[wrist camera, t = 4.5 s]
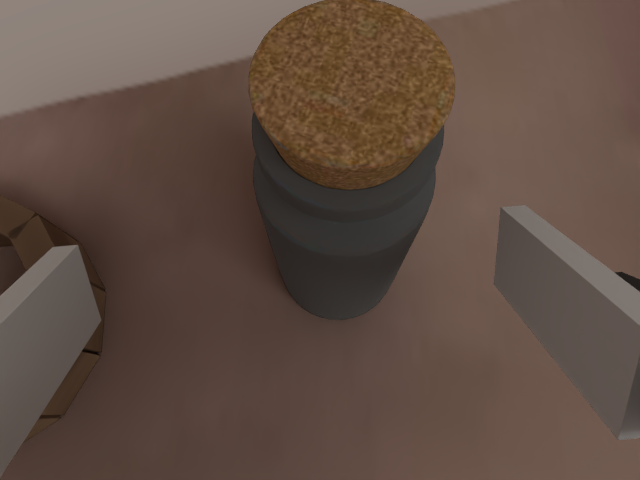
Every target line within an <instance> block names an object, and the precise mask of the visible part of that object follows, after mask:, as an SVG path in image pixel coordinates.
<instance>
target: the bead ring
mask: <svg viewBox="0 0 640 480" xmlns="http://www.w3.org/2000/svg"><path fill="white" fill-rule="evenodd" d="M70 245H78V246H79V250H80V253H81V256H82V259H83V262H84V266H85V269H86V272H87V275H88V279H89V282H90V285H91V288H92V291H93V295H94V298H95V301H96V304H97V308H98V311H99V314H100V317H101V322H100V323H99V325H98V327H97V328H96V330H95V331H94V333H93V334H92V336H91V337H90V339H89V341H88V342H87V344H86V345H85V347H84V348H83V350H82V351H81V353H80V355H79V356H78V358H77V359H76V361H75V362H74V364H73V366H72V367H71V369H70V370H69V372H68V373H67V375H66V376H65V378H64V380H63V381H62V383H61V384H60V386H59V387H58V389H57V390H56V392H55V394H54V395H53V397H52V398H51V400H50V401H49V403H48V404H47V406H46V408H45V409H44V411H43V412H42V414H41V415H40V417H39V419H38V420H37V422H36V423H35V425H34V426H33V428H32V429H31V431H30V433H29V434H28V436H27V437H26V439H25V440H24V442H25V441H27V440H28V439H30V438H31V437H33V436H34V435H36V434H37V433H39V432H40V431H42V430H43V429H45V428H46V427H48V426H49V425H51V424H53V423H54V422H56V421H57V420H59V419H60V416H59V415H64V414H65V412H66V411H67V409H68V407H69V406H70V404H71V403H72V401H73V399H74V398H75V396H76V394H77V393H78V391H79V390H80V388H81V386H82V385H83V383H84V381H85V380H86V378H87V377H88V375H89V373H90V372H91V370H92V369H93V367H94V365H95V364H96V362H97V360H98V359H99V357H100V356H99V355H97V354H95V353H94V352H102V340H103V327H104V313H105V300H106V292H104V291H103V290H104V289H105V287H104V286H103V284H102V282H101V280H100V278H99V276H98V275H97V273H96V271H95V269H94V267H93V265H92V263H91V262H90V260H89V258H88V256H87V254H86V252H85V251H84V249H83V247H82V245H81V244H80V243H79V242H78V241H77V240H75V239H74V238H72V237H71V236H69V235H68V234H67V233H65V232H64V231H62V230H61V229H59V228H58V227H56V226H55V225H53V224H52V223H50V222H49V221H47V220H46V219H44V218H43V217H42V216H40V215H39V214H37V213H36V212H34V211H32V210H30V209H28V208H26V207H23V206H21V205H19V204H17V203H15V202H13V201H11V200H9V199H7V198H5V197H3V196H1V195H0V247H2V246H14V248H15V250H16V252H17V254H18V256H19V258H20V260H21V262H22V264H23V266H24V268H25V270H26V271H28V270H29V269H30V268H31V267H32V266H33V265H34V264H35V263H36V262H37V261H38V260H39V259H40V258H42V257H43V256H44V255H45V254H46V253H47V252H48V251H49V250H50V249H51V248H52V247H59V246H70Z"/></svg>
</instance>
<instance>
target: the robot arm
mask: <svg viewBox="0 0 640 480" xmlns="http://www.w3.org/2000/svg"><path fill="white" fill-rule="evenodd" d="M494 285H495V286H496V287H497V289H498V290H499V291H500V292H501V294H502V295H503V296H504V297H505V299H506V300H507V301H508V302H509V304H510V305H511V306H512V307H513V309H514V310H515V311H516V312H517V314H518V315H519V316H520V317H521V319H522V320H523V321H524V323H525V324H526V325H527V326H528V328H529V329H530V330H531V331H532V333H533V334H534V335H535V336H536V338H537V339H538V340H539V341H540V343H541V344H542V345H543V346H544V348H545V349H546V350H547V351H548V353H549V354H550V355H551V356H552V358H553V359H554V360H555V361H556V363H557V364H558V365H559V366H560V368H561V369H562V370H563V371H564V373H565V374H566V375H567V376H568V378H569V379H570V380H571V382H572V383H573V384H574V385H575V387H576V388H577V389H578V390H579V392H580V393H581V394H582V395H583V397H584V398H585V399H586V400H587V402H588V403H589V404H590V405H591V407H592V408H593V409H594V410H595V412H596V413H597V414H598V415H599V417H600V418H601V419H602V420H603V422H604V423H605V424H606V425H607V427H608V428H609V429H610V430H611V432H612V433H613V434H614V435H615V437H616V438H617V439H618V440H623V439H633V438H640V279H637V278H635V277H632V276H630V275H628V274H625V273H623V272H616V273H614V272H613V271H612V270H610V269H609V268H608V267H606V266H605V265H604V264H602V263H601V262H600V261H598V260H597V259H596V258H594V257H593V256H592V255H590V254H589V253H588V252H586V251H585V250H584V249H582V248H581V247H580V246H578V245H577V244H576V243H574V242H573V241H572V240H570V239H569V238H568V237H566V236H565V235H564V234H562V233H561V232H560V231H558V230H557V229H556V228H555V227H553V226H552V225H551V224H549V223H548V222H547V221H545V220H544V219H543V218H541V217H540V216H539V215H537V214H536V213H535V212H533V211H532V210H531V209H529V208H528V207H527V206H525V205H521V206H509V207H501V210H500V221H499V232H498V243H497V254H496V265H495V276H494ZM100 322H101V317H100V314H99V311H98V308H97V304H96V301H95V298H94V295H93V291H92V288H91V285H90V282H89V279H88V275H87V272H86V269H85V266H84V262H83V259H82V256H81V253H80V250H79V246H78V245H70V246H59V247H52V248H51V249H50V250H49V251H48V252H47V253H46V254H45V255H44V256H43V257H42V258H40V259H39V260H38V261H37V262H36V263H35V264H34V265H33V266H32V267H31V268H30V269H29V270H28V271H26V272H25V273H24V274H23V275H22V276H21V277H20V278H19V279H18V280H17V281H16V282H15V283H13V284H12V285H11V286H10V287H9V288H8V289H7V290H6V291H5V292H4V293H3V294H2V295H1V296H0V478H1V476H2V475H3V473H4V471H5V470H6V468H7V467H8V465H9V464H10V462H11V461H12V459H13V457H14V456H15V454H16V453H17V451H18V450H19V448H20V447H21V445H22V443H23V442H24V440H25V439H26V437H27V436H28V434H29V433H30V431H31V429H32V428H33V426H34V425H35V423H36V422H37V420H38V419H39V417H40V415H41V414H42V412H43V411H44V409H45V408H46V406H47V404H48V403H49V401H50V400H51V398H52V397H53V395H54V394H55V392H56V390H57V389H58V387H59V386H60V384H61V383H62V381H63V380H64V378H65V376H66V375H67V373H68V372H69V370H70V369H71V367H72V366H73V364H74V362H75V361H76V359H77V358H78V356H79V355H80V353H81V351H82V350H83V348H84V347H85V345H86V344H87V342H88V341H89V339H90V337H91V336H92V334H93V333H94V331H95V330H96V328H97V327H98V325H99V323H100Z"/></svg>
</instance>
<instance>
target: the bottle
mask: <svg viewBox="0 0 640 480" xmlns="http://www.w3.org/2000/svg"><path fill="white" fill-rule="evenodd" d="M454 94H455V76H454V69H453V66H452V63H451V59H450V57H449V55H448V52H447V50H446V48H445V46H444V45H443V43H442V42H441V41H440V39H439V38H438V37H437V35H436V34H435V33H434V32H433V31H432V30H431V29H430V28H429V27H428V26H427V25H426V24H425V23H424V22H423V21H421V20H420V19H418V18H417V17H415V16H413V15H412V14H410V13H409V12H407V11H405V10H403V9H401V8H398V7H396V6H393V5H391V4H388V3H386V2H381V1H376V0H324V1H321V2H317V3H314V4H311V5H308V6H305V7H303V8H301V9H299V10H297V11H295V12H293V13H291V14H289V15H288V16H286V17H285V18H283V19H282V20H281V21H280V22H278V23H277V24H276V25H275V26H274V27H273V28H272V29H271V30H270V31H269V32H268V33H267V34H266V35H265V37H264V38H263V40H262V41H261V43H260V45H259V46H258V48H257V50H256V52H255V54H254V57H253V59H252V62H251V66H250V72H249V95H250V99H251V103H252V107H253V110H254V113H253V118H252V139H253V145H254V149H255V153H256V157H255V161H254V170H253V183H254V188H255V194H256V199H257V202H258V206H259V209H260V212H261V215H262V218H263V222H264V225H265V228H266V231H267V234H268V237H269V241H270V243H271V246H272V249H273V252H274V255H275V258H276V261H277V264H278V267H279V270H280V273H281V275H282V278H283V281H284V283H285V285H286V288H287V290H288V291H289V293H290V295H291V296H292V297H293V298H294V300H295V301H296V302H297V303H298V304H299V305H300V306H301V307H302V308H304V309H305V310H307V311H308V312H310V313H312V314H314V315H316V316H319V317H322V318H327V319H337V320H342V319H349V318H353V317H357V316H359V315H361V314H363V313H365V312H367V311H369V310H370V309H372V308H373V307H374V306H375V305H376V304H377V303H378V302H379V301H380V300H381V299H382V298H383V296H384V295H385V294H386V292H387V290H388V289H389V287H390V285H391V283H392V282H393V280H394V278H395V276H396V274H397V272H398V270H399V268H400V266H401V264H402V262H403V260H404V258H405V256H406V254H407V252H408V250H409V248H410V246H411V245H412V243H413V241H414V239H415V237H416V235H417V233H418V231H419V229H420V227H421V225H422V223H423V221H424V218H425V216H426V214H427V212H428V209H429V206H430V203H431V201H432V198H433V194H434V188H435V166H436V163H437V161H438V158H439V156H440V152H441V149H442V146H443V138H444V123H445V121H446V120H447V118H448V115H449V113H450V111H451V108H452V104H453V101H454Z"/></svg>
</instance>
